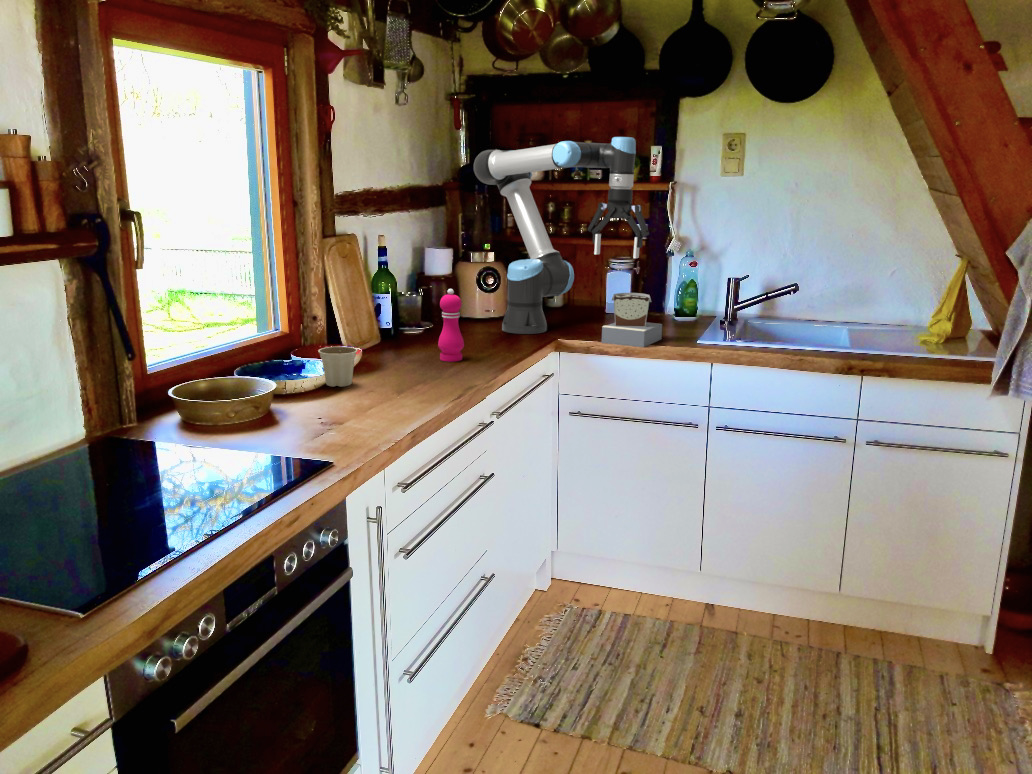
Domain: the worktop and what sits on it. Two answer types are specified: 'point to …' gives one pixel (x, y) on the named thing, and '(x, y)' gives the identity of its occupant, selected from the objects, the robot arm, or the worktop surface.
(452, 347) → the pepper mill
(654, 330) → the block
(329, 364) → the flower pot
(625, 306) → the food container
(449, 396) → the worktop surface
